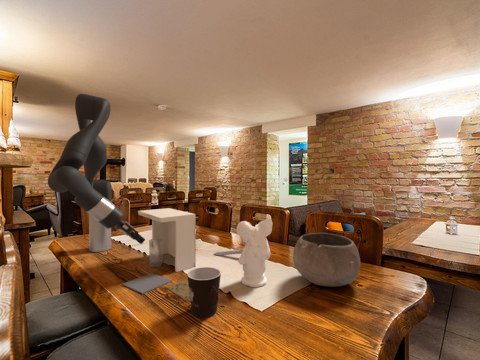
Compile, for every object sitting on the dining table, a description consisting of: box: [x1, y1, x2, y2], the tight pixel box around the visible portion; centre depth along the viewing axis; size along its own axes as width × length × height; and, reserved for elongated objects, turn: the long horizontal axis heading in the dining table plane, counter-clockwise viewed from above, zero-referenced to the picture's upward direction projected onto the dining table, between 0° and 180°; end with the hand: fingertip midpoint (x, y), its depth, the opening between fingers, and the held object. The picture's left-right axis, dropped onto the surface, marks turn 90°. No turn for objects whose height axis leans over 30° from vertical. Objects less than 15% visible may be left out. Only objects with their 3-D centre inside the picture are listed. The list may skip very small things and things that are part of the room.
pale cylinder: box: [148, 238, 164, 268], centre depth 98 cm, size 5×5×10 cm
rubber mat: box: [121, 272, 173, 295], centre depth 81 cm, size 11×11×1 cm
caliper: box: [213, 248, 244, 256], centre depth 107 cm, size 20×1×6 cm, turn 69°
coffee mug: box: [186, 266, 222, 319], centre depth 62 cm, size 12×9×10 cm
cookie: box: [164, 278, 190, 301], centre depth 78 cm, size 12×12×1 cm
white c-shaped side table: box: [137, 207, 197, 273], centre depth 100 cm, size 24×14×21 cm, turn 40°
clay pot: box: [292, 232, 361, 288], centre depth 81 cm, size 21×21×15 cm
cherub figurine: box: [236, 216, 274, 288], centre depth 84 cm, size 12×12×22 cm
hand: (139, 239), depth 93 cm, fingers open, 8 cm apart
